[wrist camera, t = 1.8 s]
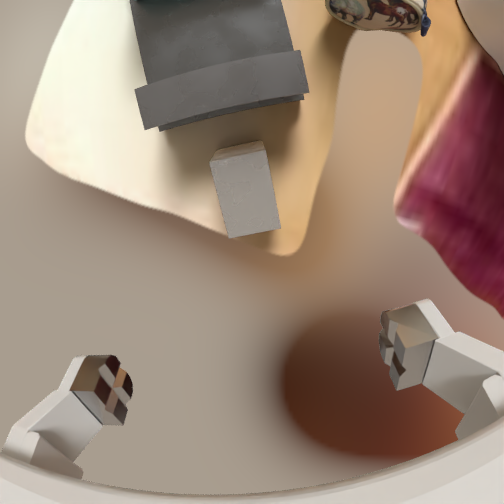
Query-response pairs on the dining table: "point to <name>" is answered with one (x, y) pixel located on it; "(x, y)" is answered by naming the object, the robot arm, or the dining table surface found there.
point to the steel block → (245, 189)
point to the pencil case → (382, 14)
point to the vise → (213, 59)
